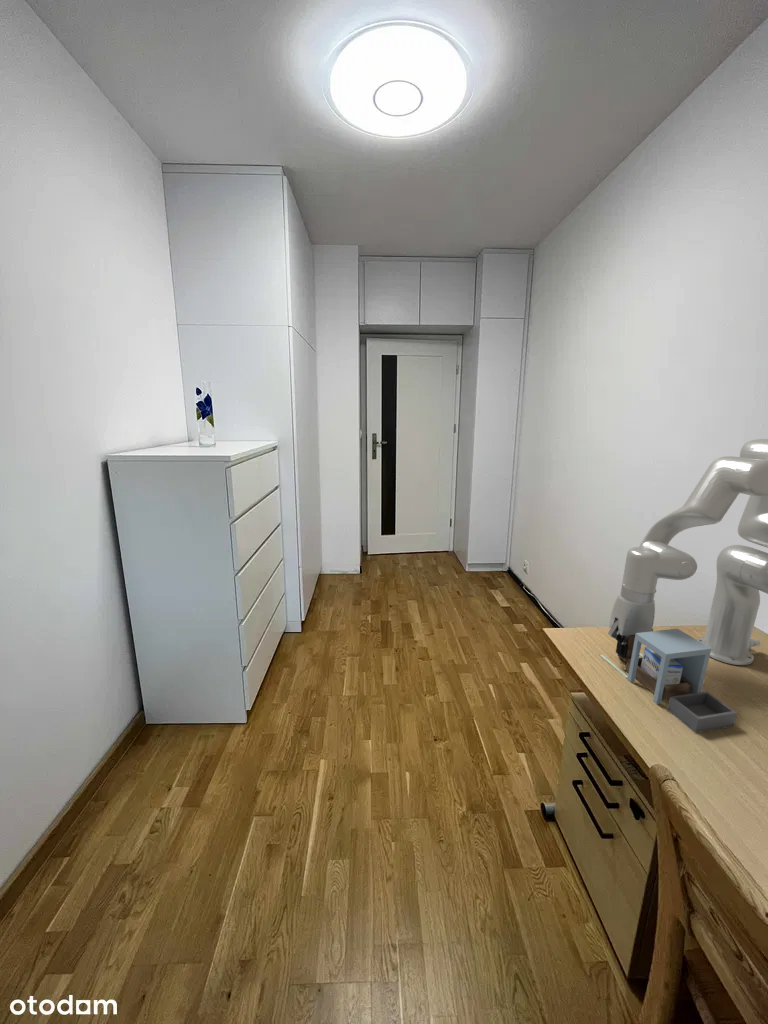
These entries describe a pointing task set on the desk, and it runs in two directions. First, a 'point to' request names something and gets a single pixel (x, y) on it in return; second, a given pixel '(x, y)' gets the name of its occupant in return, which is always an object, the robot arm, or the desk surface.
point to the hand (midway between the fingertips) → (626, 654)
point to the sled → (649, 681)
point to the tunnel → (672, 647)
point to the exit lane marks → (616, 666)
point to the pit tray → (702, 711)
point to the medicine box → (653, 664)
